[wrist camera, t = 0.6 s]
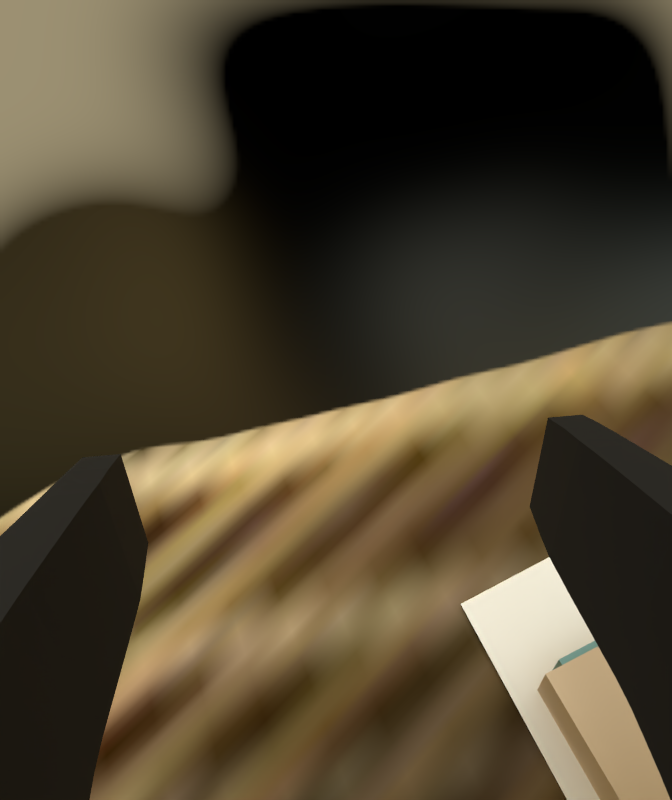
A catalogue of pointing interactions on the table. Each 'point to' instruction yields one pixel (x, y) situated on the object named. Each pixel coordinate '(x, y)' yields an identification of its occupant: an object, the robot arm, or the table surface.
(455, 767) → the table surface
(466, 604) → the large cream panel
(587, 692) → the kraft carton
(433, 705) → the table surface
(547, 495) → the robot arm
